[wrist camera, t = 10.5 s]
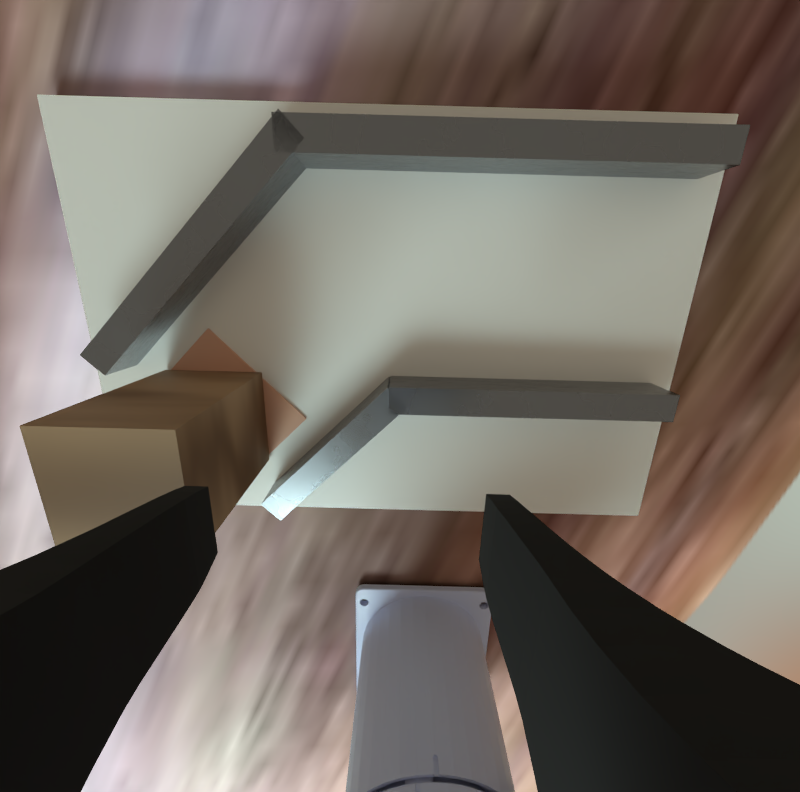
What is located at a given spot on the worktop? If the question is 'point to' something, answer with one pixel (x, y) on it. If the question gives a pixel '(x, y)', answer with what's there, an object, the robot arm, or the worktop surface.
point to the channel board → (399, 294)
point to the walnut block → (149, 447)
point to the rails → (425, 152)
